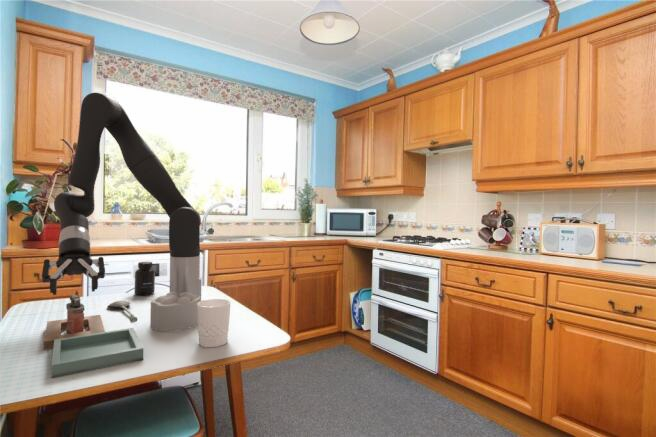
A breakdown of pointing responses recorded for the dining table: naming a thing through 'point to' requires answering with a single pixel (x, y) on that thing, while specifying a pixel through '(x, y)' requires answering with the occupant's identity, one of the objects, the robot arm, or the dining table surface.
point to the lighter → (74, 315)
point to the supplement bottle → (144, 279)
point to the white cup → (213, 322)
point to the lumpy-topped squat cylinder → (174, 312)
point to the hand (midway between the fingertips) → (74, 291)
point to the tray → (95, 351)
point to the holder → (55, 333)
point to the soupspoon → (123, 305)
